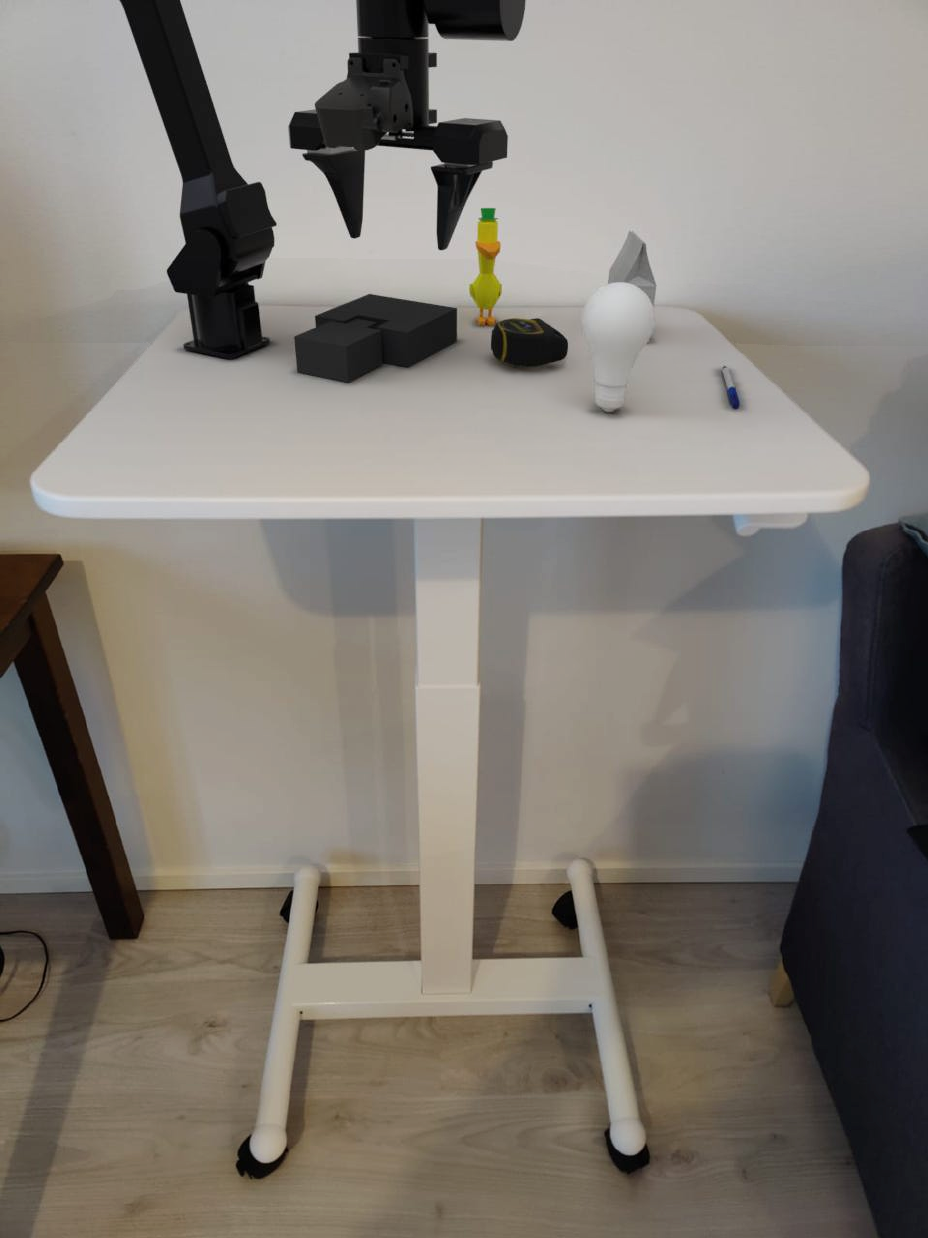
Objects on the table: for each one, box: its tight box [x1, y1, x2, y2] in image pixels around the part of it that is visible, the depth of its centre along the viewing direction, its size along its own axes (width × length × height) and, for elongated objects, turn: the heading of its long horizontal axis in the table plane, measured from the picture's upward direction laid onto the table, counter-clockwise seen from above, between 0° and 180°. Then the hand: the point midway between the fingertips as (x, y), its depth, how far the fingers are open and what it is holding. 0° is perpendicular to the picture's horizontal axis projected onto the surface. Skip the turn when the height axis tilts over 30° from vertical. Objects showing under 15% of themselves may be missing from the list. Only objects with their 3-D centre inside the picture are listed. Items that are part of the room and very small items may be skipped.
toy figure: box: [468, 207, 503, 327], centre depth 101 cm, size 7×4×12 cm, turn 5°
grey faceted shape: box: [607, 230, 657, 344], centre depth 99 cm, size 4×7×10 cm, turn 3°
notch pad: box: [314, 293, 458, 368], centre depth 96 cm, size 11×10×4 cm
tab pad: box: [293, 319, 383, 384], centre depth 90 cm, size 6×8×4 cm
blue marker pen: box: [721, 365, 741, 409], centre depth 87 cm, size 10×1×1 cm, turn 174°
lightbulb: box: [580, 282, 656, 413], centre depth 79 cm, size 6×6×11 cm
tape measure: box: [490, 317, 569, 368], centre depth 92 cm, size 7×7×4 cm
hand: (398, 243), depth 83 cm, fingers open, 9 cm apart
